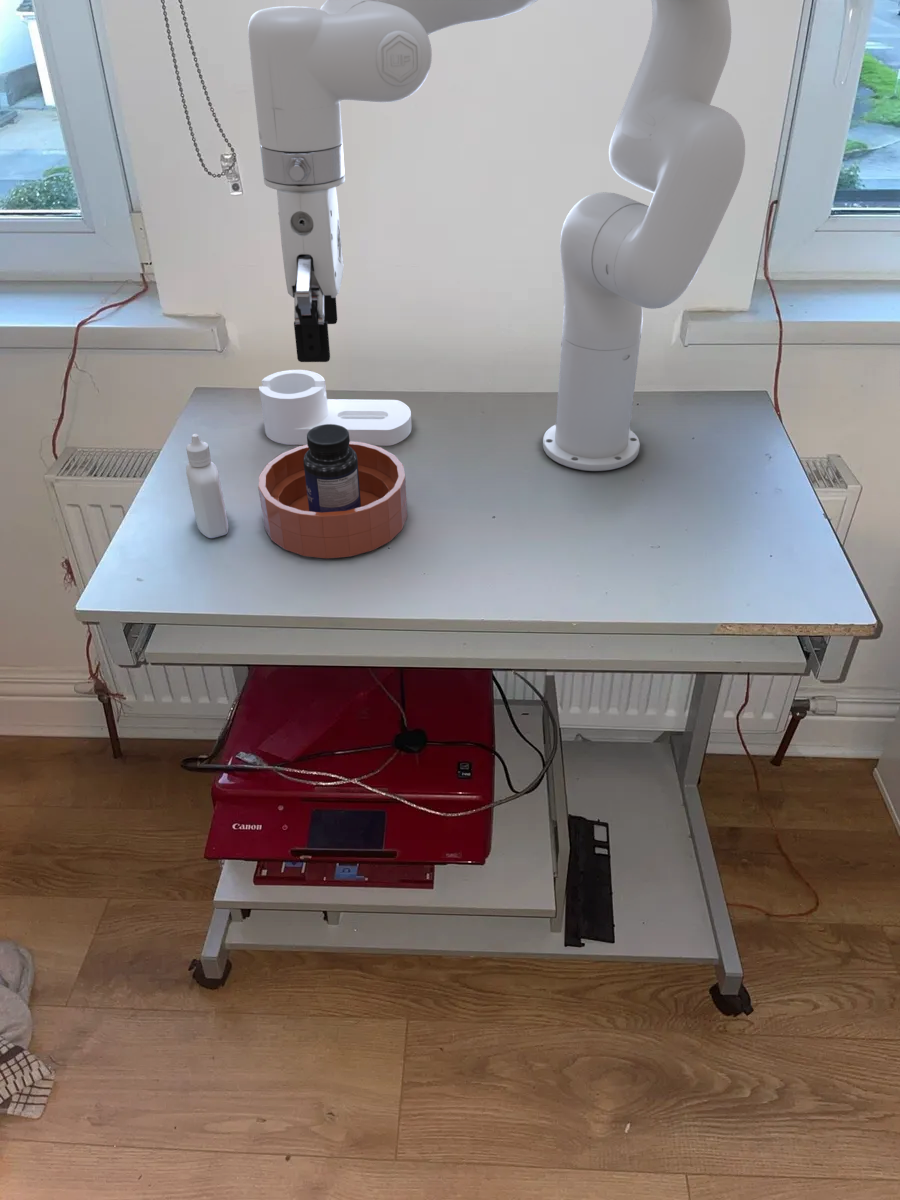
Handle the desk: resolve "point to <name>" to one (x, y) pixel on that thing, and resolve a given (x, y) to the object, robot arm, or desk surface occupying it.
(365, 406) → the bracket
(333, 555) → the bowl
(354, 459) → the pill bottle
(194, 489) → the eye dropper bottle
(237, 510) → the desk surface
